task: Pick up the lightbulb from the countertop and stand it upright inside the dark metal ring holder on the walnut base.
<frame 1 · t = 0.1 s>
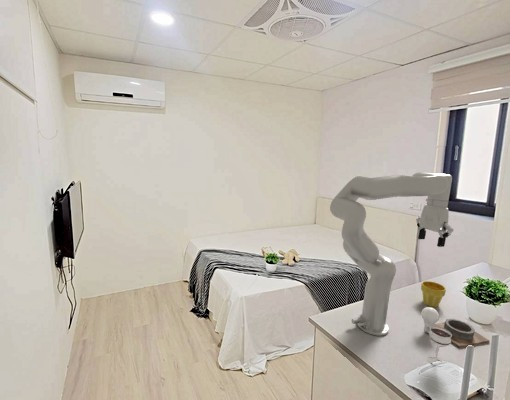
hand: (430, 242, 124), 37 cm above the table, tool pointing down, fingers open, 9 cm apart
wineglass: (435, 362, 105), on the table
plant pot: (430, 304, 147), on the table
lightbulb: (427, 332, 123), on the table
bulb holder: (457, 334, 122), on the table
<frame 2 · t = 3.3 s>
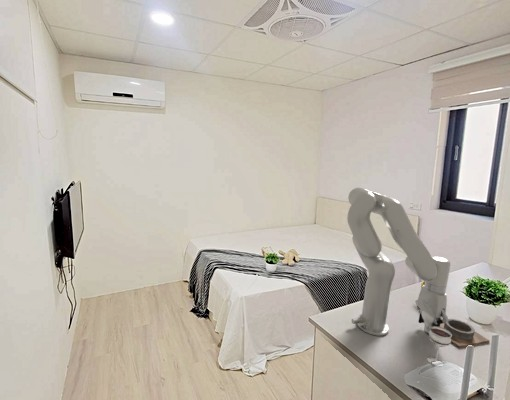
hand: (428, 326, 122), 3 cm above the table, tool pointing down, fingers closed on lightbulb, 5 cm apart
lightbulb: (427, 332, 123), on the table, touching gripper
everything else where it was.
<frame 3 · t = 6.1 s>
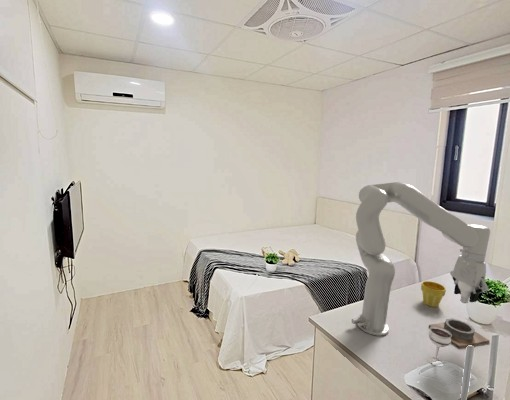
hand: (465, 297, 119), 17 cm above the table, tool pointing down, fingers closed on lightbulb, 5 cm apart
lightbulb: (463, 303, 120), point 14 cm above the table, touching gripper
everything else where it was.
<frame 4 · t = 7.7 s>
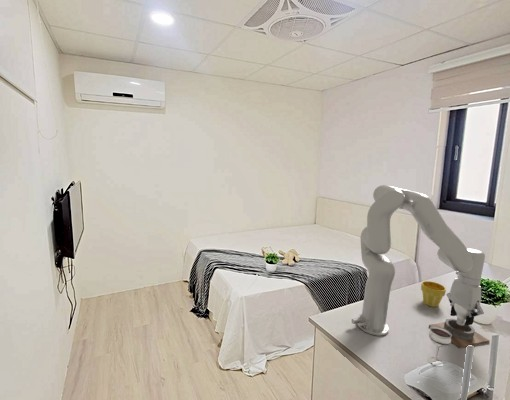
hand: (461, 319, 121), 7 cm above the table, tool pointing down, fingers closed on lightbulb, 5 cm apart
lightbulb: (459, 325, 121), point 4 cm above the table, touching gripper
everything else where it was.
when the fingers open (5 cm above the table, at t = 9.0 s): lightbulb drops 1 cm, resting on bulb holder.
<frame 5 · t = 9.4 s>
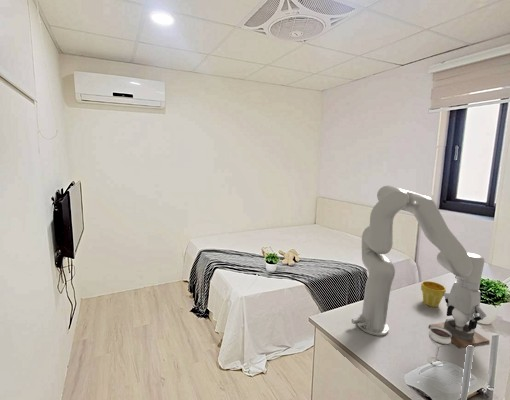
hand: (460, 321, 121), 6 cm above the table, tool pointing down, fingers open, 9 cm apart
lightbulb: (458, 332, 122), point 1 cm above the table, touching bulb holder
everything else where it was.
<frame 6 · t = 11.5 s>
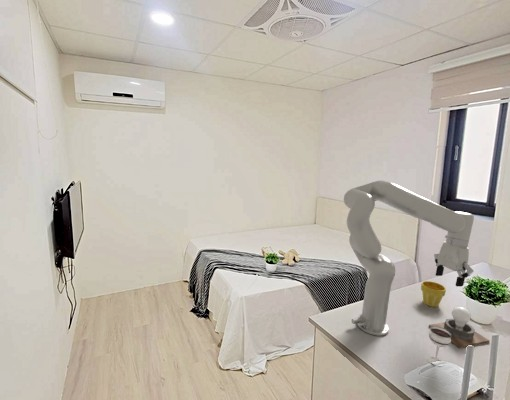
hand: (448, 280, 122), 22 cm above the table, tool pointing down, fingers open, 9 cm apart
nothing on the table moved.
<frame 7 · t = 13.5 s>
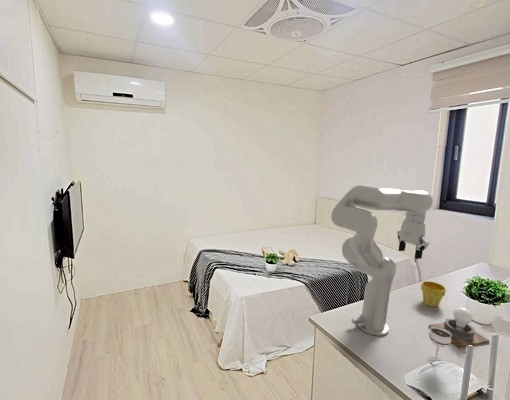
hand: (409, 254, 133), 28 cm above the table, tool pointing down, fingers open, 9 cm apart
nothing on the table moved.
at the end: lightbulb 0.1 cm off-centre on the bulb holder, point 0.8 cm above the bulb holder's base; lightbulb tilted 1°; the gripper is holding nothing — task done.
